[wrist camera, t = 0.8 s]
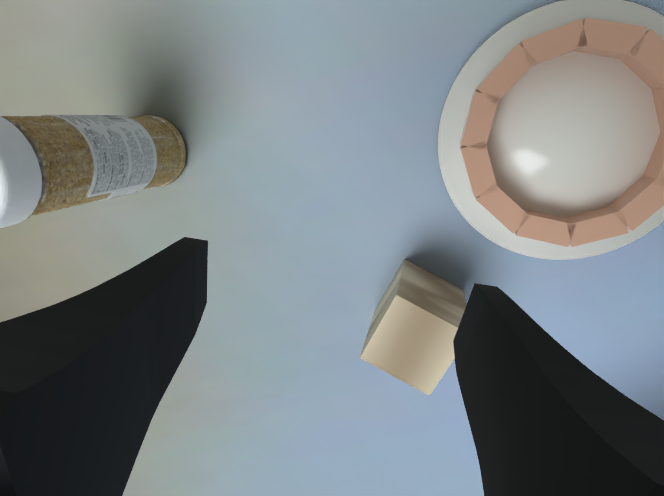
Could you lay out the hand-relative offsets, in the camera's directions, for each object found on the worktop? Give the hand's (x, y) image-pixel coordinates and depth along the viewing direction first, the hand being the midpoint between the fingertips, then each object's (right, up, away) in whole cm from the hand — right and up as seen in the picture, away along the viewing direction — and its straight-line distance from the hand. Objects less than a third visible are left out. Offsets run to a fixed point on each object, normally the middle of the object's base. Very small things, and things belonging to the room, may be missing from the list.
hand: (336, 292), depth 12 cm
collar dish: (+12, +7, +12) cm, 18 cm away
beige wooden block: (+5, -2, +16) cm, 17 cm away
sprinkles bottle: (-11, +7, +17) cm, 22 cm away
